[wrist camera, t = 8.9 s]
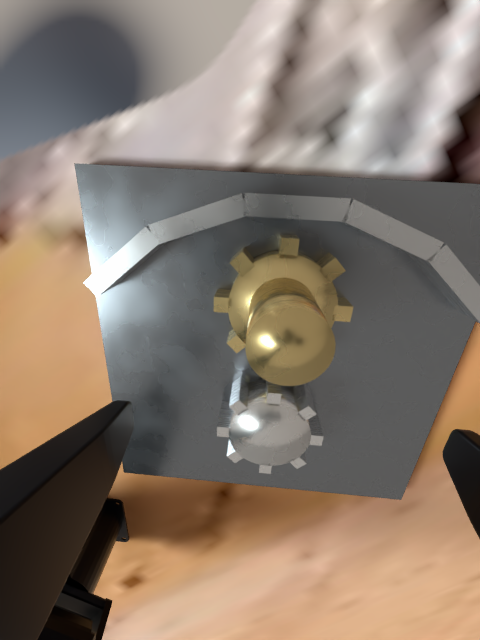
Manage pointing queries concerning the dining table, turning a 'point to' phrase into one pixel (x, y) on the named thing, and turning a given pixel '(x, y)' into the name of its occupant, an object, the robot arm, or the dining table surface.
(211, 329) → the carrier plate
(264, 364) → the gear
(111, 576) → the dining table surface
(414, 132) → the dining table surface
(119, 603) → the dining table surface
